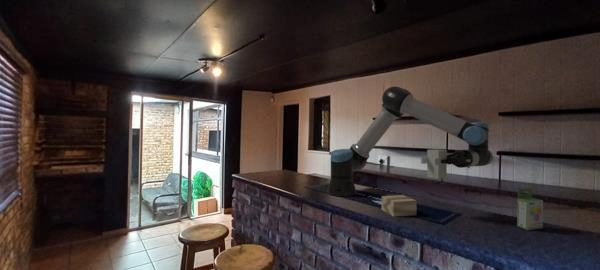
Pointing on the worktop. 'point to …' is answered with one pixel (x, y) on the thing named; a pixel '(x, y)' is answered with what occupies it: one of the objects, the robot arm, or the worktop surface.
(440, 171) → the sage block
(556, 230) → the worktop surface
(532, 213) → the ink box
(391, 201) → the birch block
